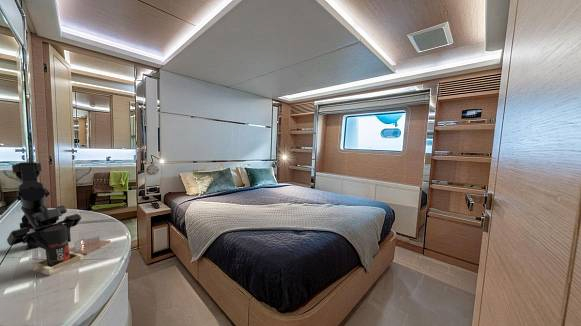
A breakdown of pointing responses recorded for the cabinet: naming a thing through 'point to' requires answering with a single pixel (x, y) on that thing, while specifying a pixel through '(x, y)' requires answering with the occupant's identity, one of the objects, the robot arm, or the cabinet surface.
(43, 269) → the beige square frame
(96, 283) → the cabinet surface
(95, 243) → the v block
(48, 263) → the deodorant
